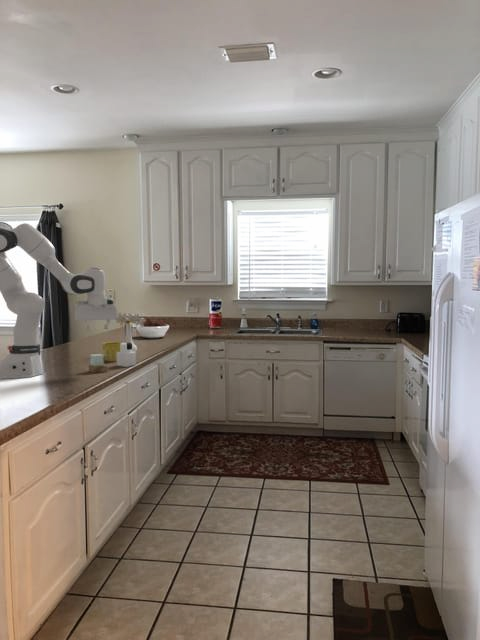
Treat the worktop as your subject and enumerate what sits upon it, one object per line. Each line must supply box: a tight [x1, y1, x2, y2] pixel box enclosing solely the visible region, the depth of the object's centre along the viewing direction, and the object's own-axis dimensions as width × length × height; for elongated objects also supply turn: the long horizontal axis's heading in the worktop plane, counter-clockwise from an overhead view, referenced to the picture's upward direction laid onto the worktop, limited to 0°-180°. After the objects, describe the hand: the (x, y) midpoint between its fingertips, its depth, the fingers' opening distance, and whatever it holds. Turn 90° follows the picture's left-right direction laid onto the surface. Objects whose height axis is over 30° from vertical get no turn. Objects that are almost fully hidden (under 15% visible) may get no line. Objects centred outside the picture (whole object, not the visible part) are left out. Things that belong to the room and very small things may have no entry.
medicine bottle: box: [116, 342, 137, 368], centre depth 267 cm, size 7×7×12 cm
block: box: [88, 363, 108, 374], centre depth 250 cm, size 7×7×3 cm
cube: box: [89, 353, 104, 366], centre depth 251 cm, size 5×5×5 cm
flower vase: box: [114, 312, 147, 352], centre depth 304 cm, size 13×18×25 cm
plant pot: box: [102, 341, 122, 362], centre depth 282 cm, size 10×10×10 cm
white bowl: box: [135, 318, 170, 339], centre depth 387 cm, size 25×25×15 cm
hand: (96, 329), depth 251 cm, fingers open, 8 cm apart
